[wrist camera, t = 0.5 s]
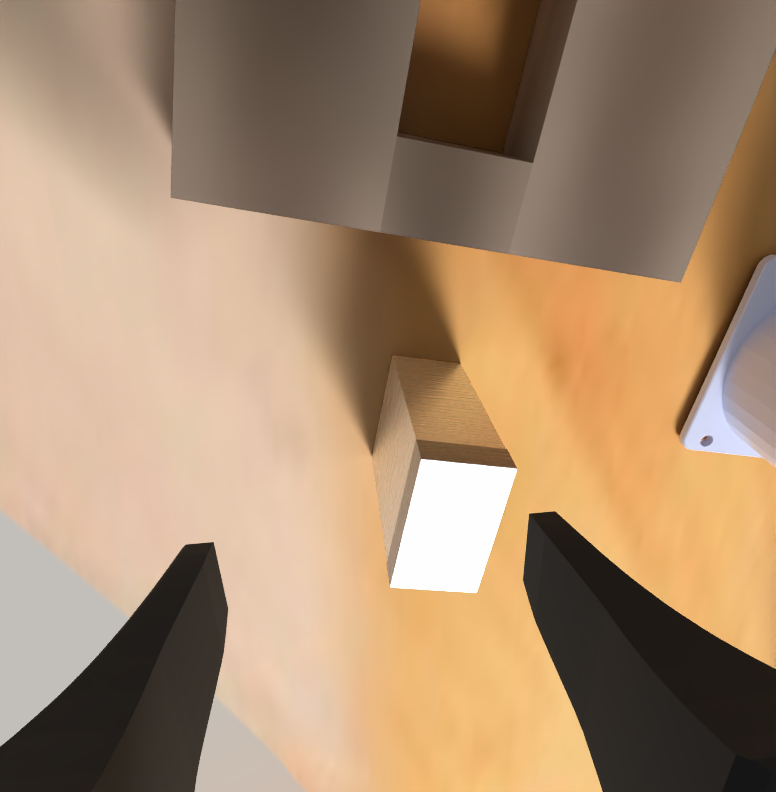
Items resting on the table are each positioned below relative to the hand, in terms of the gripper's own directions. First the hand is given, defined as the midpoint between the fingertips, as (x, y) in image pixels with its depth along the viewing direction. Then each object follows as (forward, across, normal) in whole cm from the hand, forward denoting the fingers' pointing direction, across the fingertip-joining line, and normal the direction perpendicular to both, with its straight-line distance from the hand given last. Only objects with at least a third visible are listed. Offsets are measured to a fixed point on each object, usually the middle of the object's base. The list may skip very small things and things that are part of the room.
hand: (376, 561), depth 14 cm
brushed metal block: (+10, -2, +1) cm, 10 cm away
